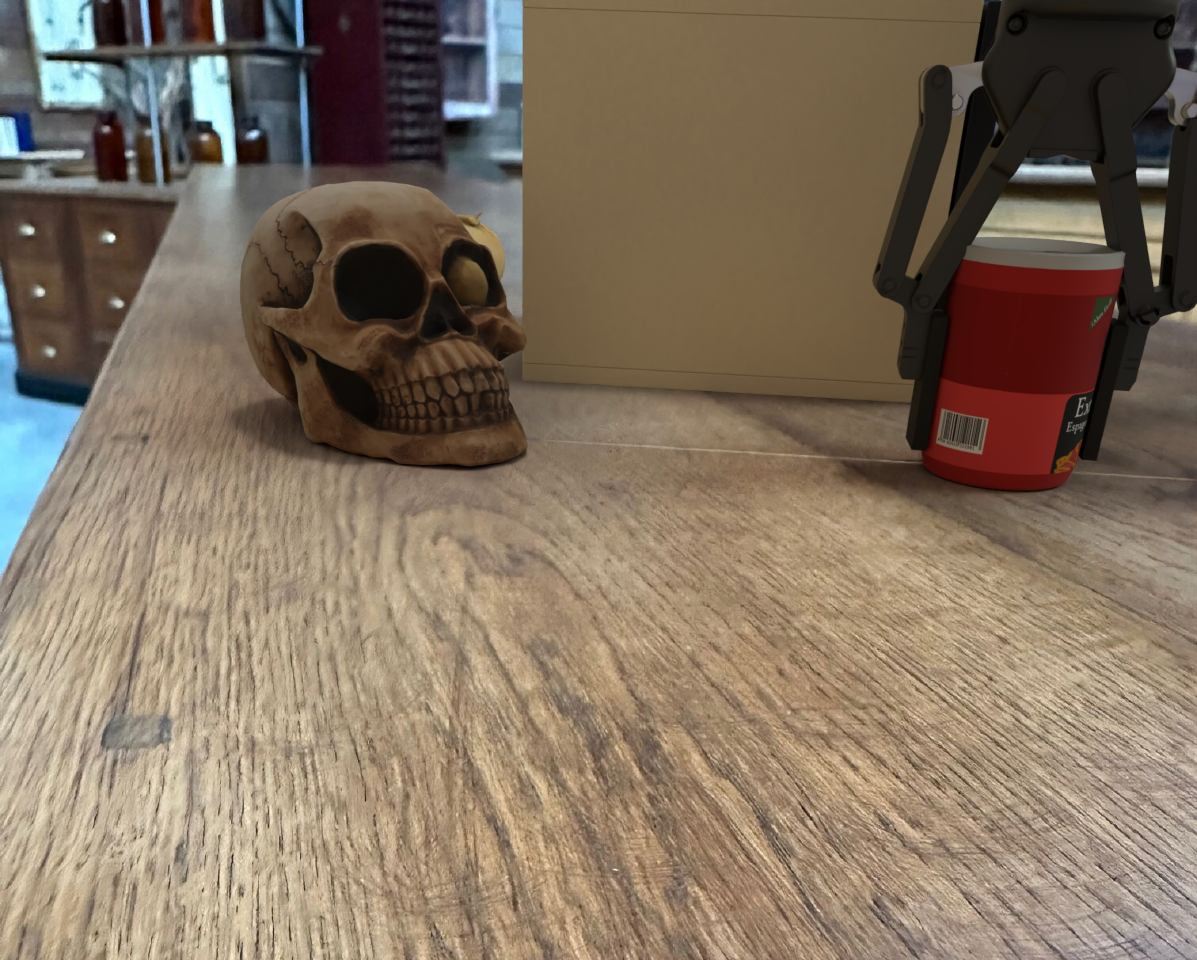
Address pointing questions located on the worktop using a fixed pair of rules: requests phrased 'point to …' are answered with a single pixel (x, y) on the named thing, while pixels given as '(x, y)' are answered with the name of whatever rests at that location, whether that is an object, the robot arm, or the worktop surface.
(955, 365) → the canned food
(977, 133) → the oven door
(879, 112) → the oven
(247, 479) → the worktop surface
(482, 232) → the onion
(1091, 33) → the robot arm
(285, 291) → the brown skull
